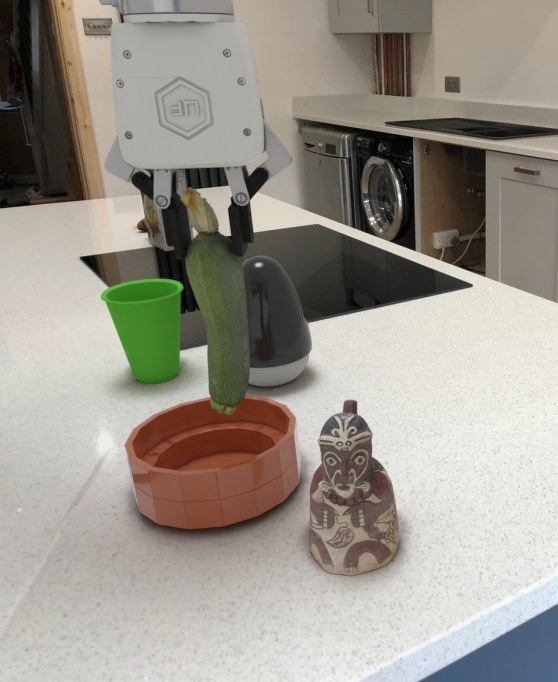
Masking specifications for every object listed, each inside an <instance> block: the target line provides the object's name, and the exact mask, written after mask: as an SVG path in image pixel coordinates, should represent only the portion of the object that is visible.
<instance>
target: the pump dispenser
mask: <svg viewBox="0 0 558 682" xmlns="http://www.w3.org/2000/svg"><path fill="white" fill-rule="evenodd" d="M241 263H242V267H243V273H244V282H245V290H246V305H247V317H248V337H249V353H250V375H249V382H248V385H249V384H250V385H252V386H256V387H265V388H266V387H267V388H269V387H277V386H281V385H284V384H287V383H289V382H291V381H293V380H294V379H296V378H298V376H300V375H301V374H302V372H303V371H304V370H305V368H306V367H307V364H308V362H309V358H310V353H311V352H312V349H313V340H312V334H311V330H310V324H309V321H308V317H307V314H306V311H305V308H304V305H303V302H302V300H301V297H300V295H299V292H298V290H297V288H296V286H295V284H294V283H293V280H292V279H291V277H290V276H289V273H288V272H287V271H286V269H285V268H284V267H283V266H282V264H281V263H280V262H278V261H277V260H276V259H274V258H272V257H270V256H266V255H255V256H251V257H249V258H247V259H245V260H244V261H243V262H241Z"/></svg>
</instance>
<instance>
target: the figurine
mask: <svg viewBox="0 0 558 682" xmlns="http://www.w3.org/2000/svg"><path fill="white" fill-rule="evenodd" d="M372 439H373V432H372V430H371V428H370V426H369V424H368V422H367V421H366V420H365V418H363V417H362V416H361V415H359V414H358V401H357V400H356V399H345V400H344V401H343V405H342V412H338V413H333V414H332V415H331V416H329V418H328V419H327V420H326V421H325V422H324V423H323V426H322V428H321V430H320V435H319V436H318V439H317V443H318V447H319V451H320V463H321V464H320V465H319V466H318V467H317V469H316V470H315V471H314V473H313V475H312V479H311V483H310V487H309V521H308V522H309V523H308V532H307V536H308V537H307V539H308V541H307V542H308V546H309V550H310V553H312V555H313V558H314V560H316V561H317V563H319V564H320V565H321V568H322V569H324V570H325V571H326V572H327V573H329V574H332V575H333V574H336V575H337V574H338V575H344V576H352V577H355V576H357V575H359V574H363V573H366V572H371V571H373V570H376V569H380V568H382V567H384V566H386V565H387V564H389V563H390V562H391V561H392V559H393V558H394V556H395V554H396V552H397V550H398V546H399V544H400V543H399V541H400V524H399V516H398V511H397V510H398V509H397V502H396V497H395V492H394V491H395V490H394V486H393V483H392V479H391V477H390V476H389V474H388V471H387V469H386V468H385V467H384V465H383V464H382V463H381V462H380V461H379V460H378V459H376V458H375V457H373V443H372Z"/></svg>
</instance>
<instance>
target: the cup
mask: <svg viewBox="0 0 558 682" xmlns="http://www.w3.org/2000/svg"><path fill="white" fill-rule="evenodd" d="M183 290H184V285H183V283H181V282H180V281H178V280H175V279H170V278H169V279H168V278H146V279H136V280H131V281H126V282H121V283H118V284H115V285H112V286H110V287H108V288H106V289H104V290H103V291H102V292H101V294H100V299H101V300H102V301H103V302H105V304H106V306H107V309H108V312H109V315H110V318H111V320H112V323H113V325H114V328H115V330H116V333H117V335H118V338H119V341H120V343H121V346H122V349H123V352H124V354H125V357H126V359H127V361H128V364H129V367H130V370H131V372H132V374H133V377H134V378H135V380H137V382H140V383H141V384H159V383H163V382H166V381H170V380H172V379H173V378H175V377H177V376H178V375H179V371H180V368H181V303H182V301H181V295H182V294H181V293H182V291H183Z"/></svg>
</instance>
